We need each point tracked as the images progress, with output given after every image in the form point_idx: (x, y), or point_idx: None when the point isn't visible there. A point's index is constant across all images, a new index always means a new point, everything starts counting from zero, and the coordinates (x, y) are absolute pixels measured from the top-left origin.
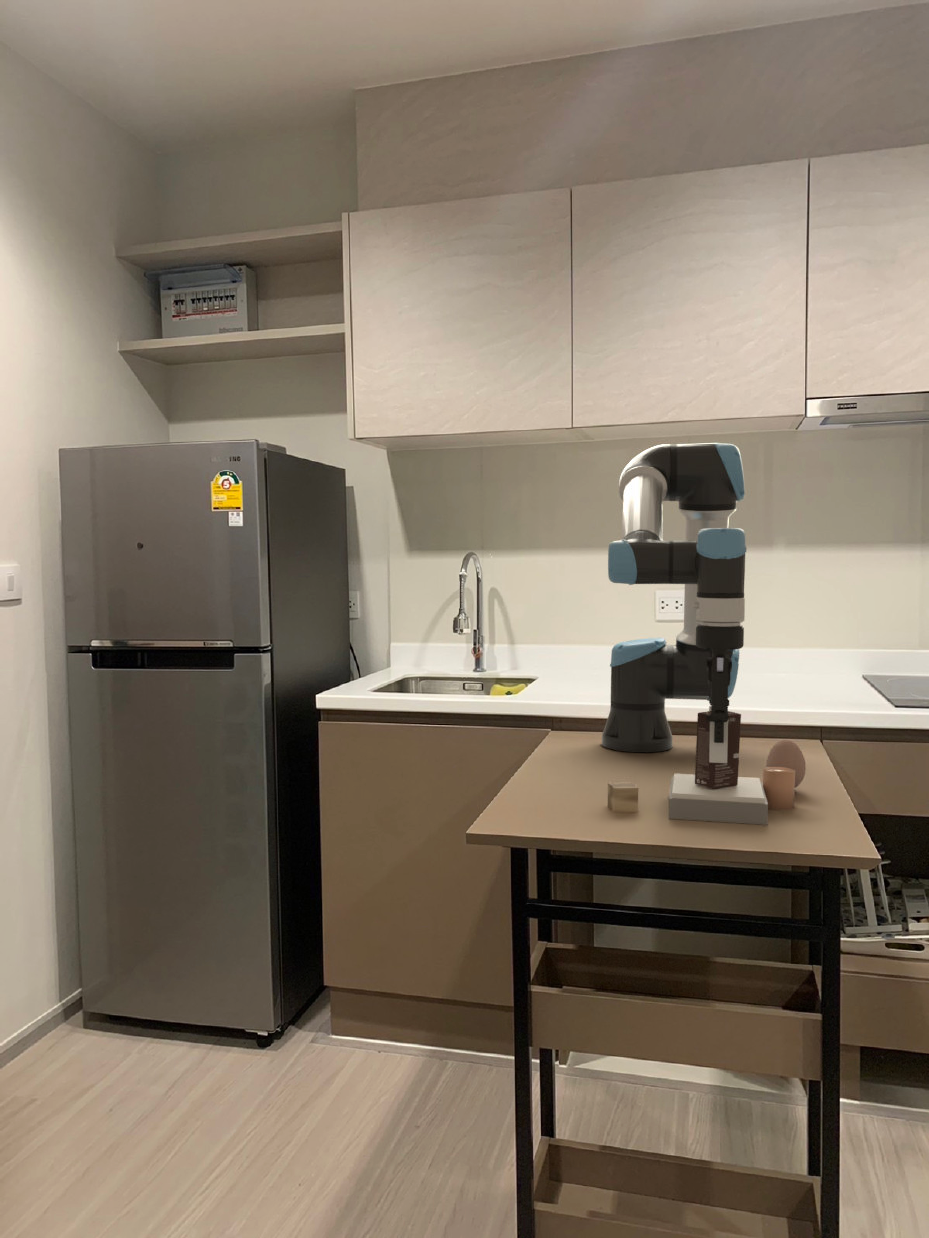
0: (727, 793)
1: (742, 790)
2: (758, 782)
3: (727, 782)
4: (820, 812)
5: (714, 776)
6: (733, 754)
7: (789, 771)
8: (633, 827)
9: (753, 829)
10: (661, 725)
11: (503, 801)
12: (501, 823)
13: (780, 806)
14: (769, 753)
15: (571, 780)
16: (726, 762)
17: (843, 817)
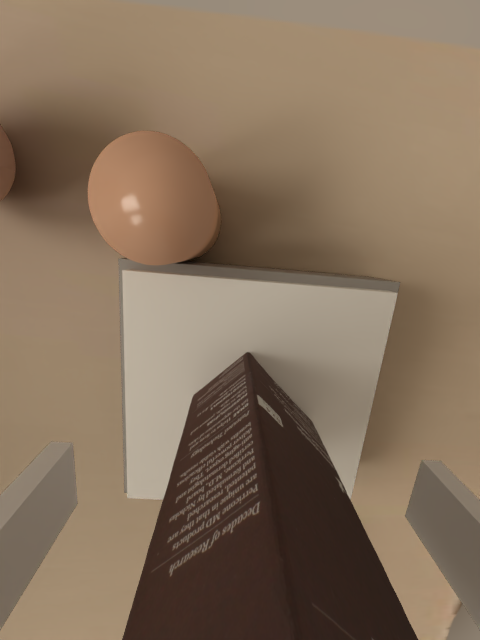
0: (344, 387)
1: (305, 343)
2: (191, 281)
3: (278, 388)
4: (235, 105)
5: (322, 443)
6: (283, 427)
7: (169, 159)
8: (395, 520)
9: (407, 313)
10: None
11: None
12: None
13: (220, 219)
14: None
15: (63, 617)
16: (441, 465)
17: (282, 41)
